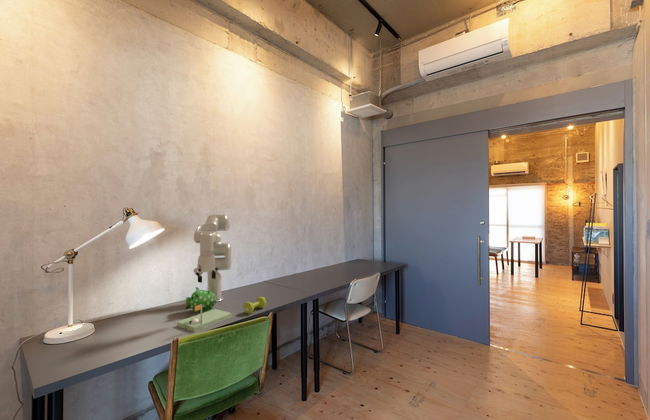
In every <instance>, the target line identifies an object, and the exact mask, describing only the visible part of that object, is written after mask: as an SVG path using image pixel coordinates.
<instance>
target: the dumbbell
mask: <svg viewBox="0 0 650 420" xmlns="http://www.w3.org/2000/svg"><path fill="white" fill-rule="evenodd" d="M266 305H267V300H266V298H265V297H264V296H258V297H257V298H256V300H255V302H251V301H246V302H245V303H244V304H243V306H242V309H243V312H244V313H245V314H247V313H248V314H247V315H251V314H253V312H254V309H255V308H259V309H264V308H265V307H266Z"/></svg>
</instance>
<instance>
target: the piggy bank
mask: <svg viewBox="0 0 650 420" xmlns="http://www.w3.org/2000/svg"><path fill="white" fill-rule="evenodd" d="M215 301H216V298H215V295H214V293H213V292H211V291H208V290H207V289H206V290H204V289H203V290H202V289H200V288H199V287H198V286H196V287H195V291H194V292H192V294H191V296H190V297H188V296H186V297H185V310H188V309H192V310H193V313H194V314H196V315H198V314H200V313H201V309H200V310H197V311H195V306H198V305H201V304H202V311H203V313H204V312H207V311H210V310H212V308H213V307H214V306H215V303H216V302H215Z"/></svg>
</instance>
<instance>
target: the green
mask: <svg viewBox="0 0 650 420" xmlns="http://www.w3.org/2000/svg"><path fill="white" fill-rule="evenodd" d="M200 309H201V310H200ZM197 310H200V313H198V314H196V315H193V316H190V317H187V318H185V319H181V320H179V321H177V324H176V325H177V327H178V328H182V329H184V330H186V331H187V330H188V331H190V332H193V333H195V332H199V331H201V330H203V329H206V328H208V327H211V326H213V325H217V324H218V323H221V322H223V321H226V320H229V319H231V318H233V316H232V314H233V313H231V312H229V311H226V310H225V311H224V310H221V309H217V308H213V309H211V310H210V311H207V312H204V311H203V310H202V304H201V305H198V306H195V311H197ZM193 319H198V320H199V322H198V323H194V324H191V322H192V320H193Z"/></svg>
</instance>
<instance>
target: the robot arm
mask: <svg viewBox="0 0 650 420" xmlns="http://www.w3.org/2000/svg"><path fill="white" fill-rule="evenodd" d="M230 224H231V223H230V220H229V218H228V216H227V215H226V214H211V215H208V216H207V218H206V221H205V223H204V224H202V225H199V226H198V227H196V229H195V231H194V234H193V241H194V243H196V244H199V256H198V259H197V266H196V268H194V269H193V272H194V275H196V276H197V283H200V284H202V283H203V276H202V275H203V274H204V273H207V291H211V292H213V293H214V295H215V298H216V301H215V303H220V302H222V301H224V297H223V296H222V275H221V273H220V272H219V271H228V270H231V268H232V245H231V244H230V243H228V242H222V237H221V235H220V233H219V232H221V231H223V232H226V231H229V230H230V226H231V225H230Z"/></svg>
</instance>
